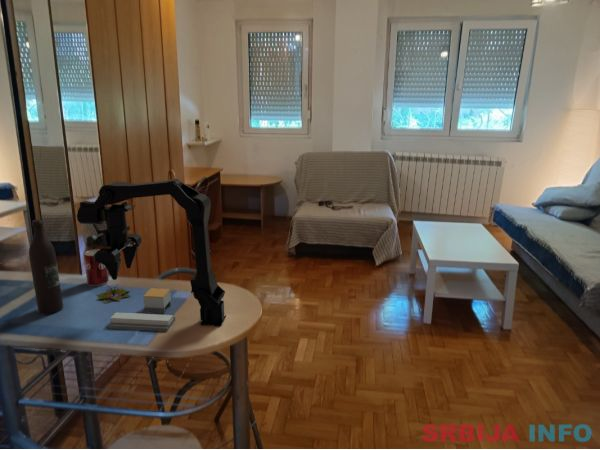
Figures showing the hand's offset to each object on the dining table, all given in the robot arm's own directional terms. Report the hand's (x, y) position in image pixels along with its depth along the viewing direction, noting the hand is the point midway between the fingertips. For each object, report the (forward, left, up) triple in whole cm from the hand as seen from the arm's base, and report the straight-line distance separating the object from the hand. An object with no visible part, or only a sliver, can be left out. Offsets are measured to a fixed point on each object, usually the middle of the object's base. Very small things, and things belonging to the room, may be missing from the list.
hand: (121, 273), depth 133 cm
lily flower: (+11, -14, -15) cm, 23 cm away
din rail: (-7, +4, -14) cm, 17 cm away
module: (-8, -6, -15) cm, 18 cm away
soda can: (+22, -24, -15) cm, 36 cm away
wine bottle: (+26, -2, -15) cm, 30 cm away
